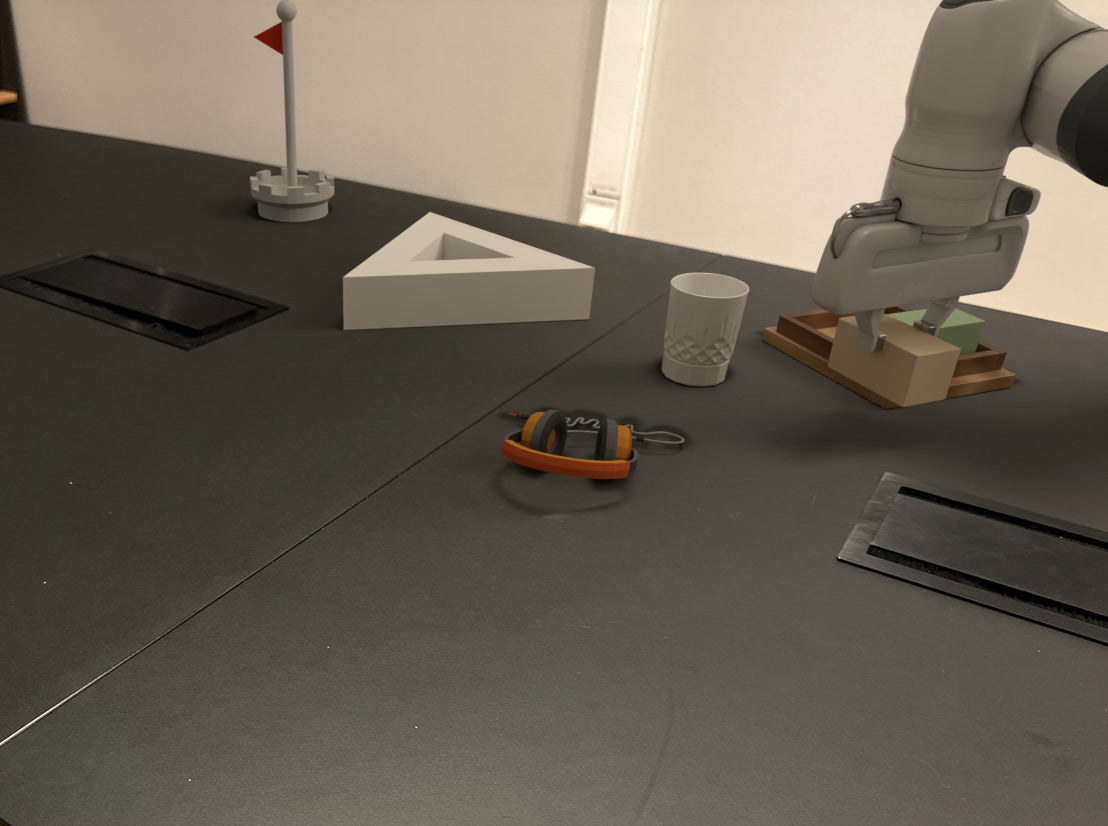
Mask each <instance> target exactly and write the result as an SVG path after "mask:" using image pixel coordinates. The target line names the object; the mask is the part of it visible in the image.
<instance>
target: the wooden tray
mask: <svg viewBox="0 0 1108 826" xmlns="http://www.w3.org/2000/svg"><path fill="white" fill-rule="evenodd" d="M907 311H914V309H911V308H910V307H907V306H906V305H903V306H896V307H890V308H885V312H884V314H893V313H900V312H907ZM850 316H855V315H854V313H852V314H845V315H836V314H833V313H831V312H829V311H827V310H825V309H823V308H821V309H814V310H806V311H799V312H792V313H786V314H780V315H779V316H778V321H777V325H775V326H769V327H764V328H763V330H762V331H763V332H762V336H761V341H763V342H765V343H767V344H768V345H770V346H772V347H774V348H775V349H777V350H779V351H781V352H783V353H785V354H786V355H788V356H789V357H791V358H793V359H795V360H797V361H799V362H801V363H802V364H804V365H806V366H808V367H809V368H811V369H812V370H814V371H816V372H818V373H820V374H822V375H824V376H825V377H827V378H829V379H831V380H832V381H834V382H836V383H837V384H839V385H842V386H843V387H845V388H846V389H849V390H850V391H852V392H854V393H856V394H858V395H859V396H861V397H862V398H864V399H866V400H868V401H869V402H872V403H873V404H875V405H877V406H878V407H880V408H882V409H884V410H891V409H895V408H902V407H901V406H899V405H897V404H896V403H894V402H892V401H890V400H888V399H886V398H884V397H883V396H881V395H879V394H877V393H875V392H873V391H872V390H870V389H868V388H866V387H864V386H862V385H860V384H859V383H857V382H855V381H853V380H851V379H849V378H848V377H846V376H844V375H842V374H840V373H838V372H836V371H835V370H833V369H831V368H829V367H828V362H829V358H830V354H831V350H832V346H833V342H834V338H835V334H836V329H837V325H838V321H839V318H844V317H850ZM1007 354H1008V351H1006V350H1003V349H1001V348H1000V347H997V346H994V345H992V344H990V343H987V342H985V341H984V340H981V339H979V342H978V345H977V348H976V351H975V353H971V354H964V355H959V357H958V360H957V363H956V366H955V370H954V373H953V376H952V379H951V382H950V385H949V389H948V392H947V395H946V398H945V399H944V400H947V399H952V398H953V399H954V398H957V397H964V396H969V395H974V394H980V393H981V394H982V393H985V392H990V391H997V390H1003V389H1009V388H1012V386H1013V384H1014V381H1015V378H1016V375H1017V374H1016V373H1014V372H1011V371H1009V370H1007V369H1005V368H1003V365H1004V363H1005V359H1006V357H1007Z"/></svg>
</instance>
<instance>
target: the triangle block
mask: <svg viewBox="0 0 1108 826" xmlns="http://www.w3.org/2000/svg"><path fill="white" fill-rule="evenodd" d="M595 273H596V267H594V266H591V265H587V264H585V263H582V262H579V261H576V260H573V259H571V258H567V257H564V256H561V255H558V254H555V253H553V252H551V251H548V250H547V251H546V250H545V249H544V250H543V249H541V248H539V247H538V248H537V247H535V246H532V245H529V244H526V243H523V242H520V241H517V240H514V239H511V238H508V237H505V236H502V235H500V234H497V233H493V232H490V231H487V230H484V229H481V228H478V227H475V226H472V225H470V224H466V223H464V222H461V221H458V220H455V219H452V218H449V217H446V216H443V215H440V214H437V213H434V212H431V211H429V212H428V213H427V214H425V215H424V216H423V217H421V218H420V219H419V220H417V221H415V222H414V223H413V224H412V225H411V226H409V227H408V228H406V229H405V230H404V231H402V232H401V233H400V234H399V235H397V236H396V237H394V238H393V239H392V240H390V241H389V242H388V243H387V244H385V245H383V247H381V248H379V250H377V251H376V252H374V253H373V254H371V256H369V257H368V258H366V259H365V260H364V261H363V262H361V263H360V264H359V265H356V267H355V268H353V269H352V270H351V271H349V272H348V273H347V274H346V275H344V276H342V308H343V309H342V312H343V313H342V314H343V317H342V318H343V319H342V320H343V321H342V322H343V323H342V324H343V325H342V326H343V331H352V330H353V331H354V330H355V331H357V330H373V329H374V330H375V329H399V328H401V329H402V328H418V327H419V328H420V327H421V328H422V327H423V328H424V327H442V326H443V327H444V326H465V325H466V326H467V325H488V324H490V325H491V324H510V323H512V324H513V323H533V322H535V323H536V322H556V321H557V322H558V321H577V320H578V321H579V320H590V317H591V316H590V315H591V308H592V307H591V306H592V299H593V292H594V291H593V290H594V281H595Z"/></svg>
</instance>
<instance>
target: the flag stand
mask: <svg viewBox="0 0 1108 826" xmlns="http://www.w3.org/2000/svg"><path fill="white" fill-rule="evenodd" d="M275 11H276V15H277V17H278V19H279V20H280V22H278V23H277V24H275V25H272V26H271V27H269V28H266V29H265V30H263V31H261V32H260V33H258V34H256V35H254V36H253V38H254V39H256V40H257V41H258V42H261V43H262V44H264V45H265V46H267V47H269V48H270V49H272V50H274V51H275V52H277V53H278V54H280V55H282V66H283V67H282V68H283V69H282V70H283V94H284V123H285V124H284V125H285V151H286V152H285V153H286V167H280V175H272V171H271V170H269V169H263V170H259V171H257V172H255V176H251V175H250V176H249V186H250V188H249V189H250V195H251V196H252V198H254V199H255V200H256V201H257V213H258V215H259V216H260V217H261V218H263V219H266V220H270V221H275V222H284V223H303V222H310V221H316V220H319V219H323V218H324V217H326V216H327V215H328V214H329V200H330V199H331V198H333V196H334V195H335V175H333V174H326V173H325V170H321V169H317V168H310V169H308V175H307V174H306V175H305V174H298V167H297V166H298V164H297V132H296V131H297V130H296V128H297V127H296V102H295V101H296V97H295V68H294V67H295V66H294V65H295V64H294V33H293V30H294V29H293V21H294V20H295V18H296V17H297V15H298V9H297V6H296V4H295V2H294V1H292V0H280V1H279V2H278V3H277V5H276V9H275Z"/></svg>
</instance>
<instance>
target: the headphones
mask: <svg viewBox="0 0 1108 826" xmlns="http://www.w3.org/2000/svg"><path fill="white" fill-rule="evenodd" d="M507 414H508V415H507V416H510V417H516V418H518V419H521V420H526V422H525V423H524V425H523V427H522V429H518V430H513V431H512V432H510V433H508V434H506V435H504V439H503V442H502V445H501V454H502V456H503V457H504V458H505V459H507V460H509V461H511V462H513V463H515V464H518V465H520V466H524V467H526V468H530V469H534V470H538V471H541V472H547V473H551V474H556V475H562V476H566V477H567V476H569V477H574V478H582V479H583V478H584V479H595V480H596V479H597V480H605V481H606V480H614V479H615V480H616V479H626V478H628V475H630V474H633V473H634V472H636V470H637V465H638V460H639V452H638V450H637V444H636V443H635V442H633V440H635V441H636V442H649V443H656V444H662V445H663V444H664V445H680V444H683V443H685V438H684V437H683V436H680V435H678V434H676V433H672V432H669V431H668V432H667V431H649V432H641V431H636V430H634V426H633V424H625V425H620V424H618V423H617V421H616V420H615V419H612V418H611V419H609V418H605V419H604V420H603V421H602V422H601V423H600V421H599V420H598V419H595V418H590V419H588V420H587V421H585V418H584V417H581V416H579V417H576V419H575V420H574V422H572V423H571V424H569V422H570V421H571V417H566V416H565V414H564V412H562V411H561V410H557V409H549V410H546V411H545V412H543V411H536V412H534V413H532V414H531V415H528V414H523V413H512V412H508V413H507ZM591 422H594V424H592V428H593V429H595V430H579V429H571V430H569V429H568V428H570V427H574V426H575V425H576V424H577V423H579V425H588V424H590V423H591ZM599 423H600V425H599ZM596 430H598V431H596ZM573 433H574V434H576V433H577V434H578V433H579V434H592V435H593V434H595V435H596V439H595V440H596V441H595V448H594V456H593V459H582V458H574V457H568V456H563V452H564V450H565V446H566V443H567V438H568V434H573ZM633 434H635V435H636V436H633ZM651 435H667V436H672V437H675V438H677V439H680V440H679V441H666V440H665V441H664V440H656V439H649V438H645V436H651Z"/></svg>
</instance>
